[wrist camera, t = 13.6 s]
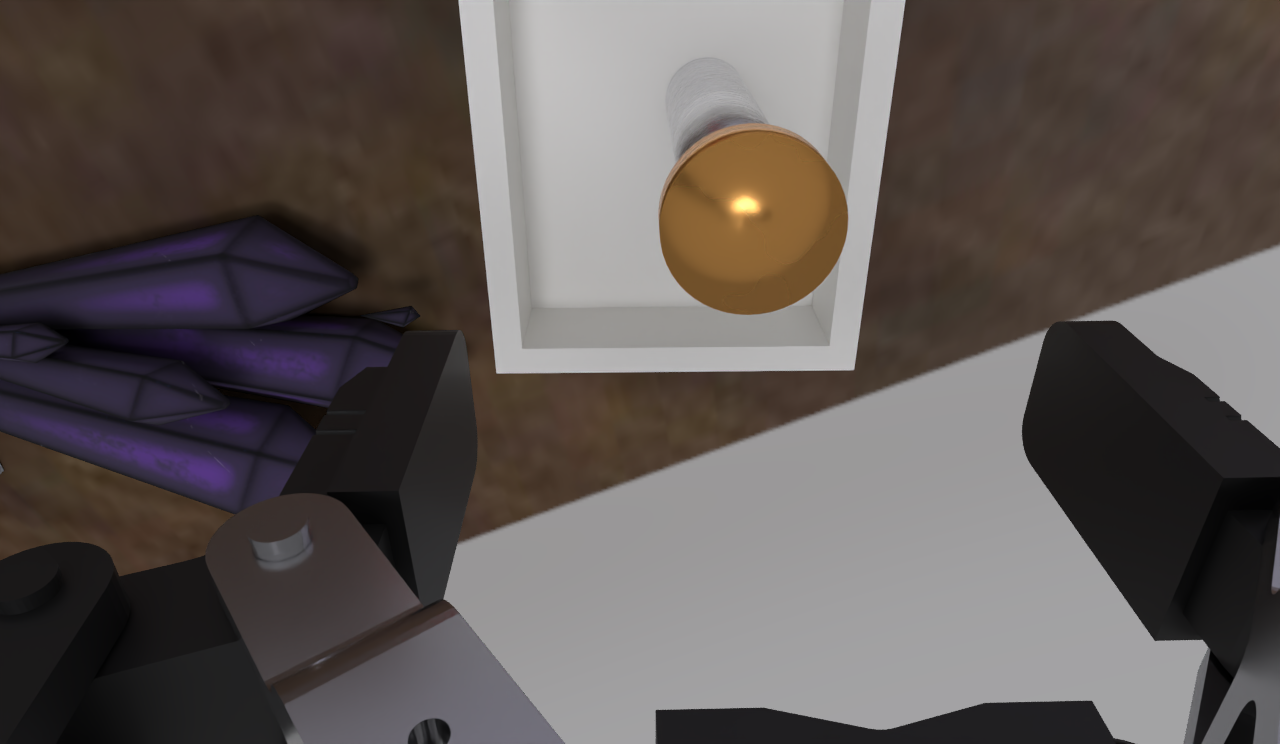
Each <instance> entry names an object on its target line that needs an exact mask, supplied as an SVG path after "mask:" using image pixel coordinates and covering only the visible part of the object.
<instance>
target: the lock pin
mask: <svg viewBox="0 0 1280 744" xmlns="http://www.w3.org/2000/svg"><path fill="white" fill-rule="evenodd" d="M665 103H666V111H667V116H668V122H669V128H670V134H671V140H672V146H673V152H674V158H675V165H674V167H673V168H672V169H671V171H670V173H669V175H668V177H667V179H666V181H665V184H664V186H663V189H662V192H661V197H660V201H659V210H658V220H659V234H660V243H661V248H662V253H663V256H664V259H665V262H666V265H667V266H668V268H669V270H670V272H671V274H672V276H673V277H674V278H675V280H676V281H677V283H678V284H679V285H680V286H681V287H682V288H683V289H684V290H685V291H686V292H687V293H688V294H689V295H691V296H692V297H693V298H694V299H696V300H698V301H699V302H701V303H702V304H704V305H706V306H709V307H711V308H713V309H716V310H719V311H722V312H726V313H732V314H740V315H754V314H763V313H769V312H773V311H776V310H779V309H783V308H785V307H787V306H790V305H792V304H794V303H796V302H797V301H799V300H801V299H803V298H804V297H806V296H807V295H808V294H810V293H811V292H812V291H814V290H815V289H816V288H817V287H818V286H819V285H820V284H821V283H822V282H823V281H824V280H825V278H826V277H827V276H828V275H829V274H830V272H831V271H832V269H833V268H834V266H835V264H836V263H837V261H838V259H839V257H840V255H841V253H842V250H843V247H844V244H845V241H846V236H847V230H848V207H847V202H846V197H845V193H844V191H843V188H842V186H841V183H840V181H839V180H838V178H837V176H836V174H835V173H834V171H833V170H832V169H831V167H830V166H829V164H828V163H827V162H826V160H825V159H824V158H823V156H822V155H821V154H820V153H819V151H818V150H817V149H816V148H815V147H814V146H813V145H812V144H811V143H810V142H808V141H807V140H805V139H804V138H803V137H801V136H800V135H798V134H796V133H794V132H792V131H790V130H787V129H785V128H782V127H779V126H774V125H770V124H769V122H768V121H767V119H766V117H765V116H764V114H763V112H762V111H761V109H760V108H759V106H758V104H757V103H756V101H755V99H754V98H753V96H752V94H751V93H750V91H749V89H748V88H747V86H746V84H745V83H744V81H743V80H742V78H741V76H740V75H739V73H738V72H737V71H736V69H734V68H733V67H732V66H731V65H730V64H728V63H727V62H725V61H723V60H720V59H717V58H712V57H704V58H698V59H694V60H692V61H690V62H688V63H686V64H684V65H683V66H682V67H681V68H679V69H678V70H677V72H676V73H675V74H674V75H673V77H672V78H671V80H670V82H669V84H668V87H667V91H666V98H665Z"/></svg>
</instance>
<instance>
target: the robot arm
mask: <svg viewBox="0 0 1280 744" xmlns="http://www.w3.org/2000/svg"><path fill="white" fill-rule="evenodd" d="M1219 398H1220V397H1219V396H1218V395H1217V394H1216V393H1215V392H1213V391H1212V390H1211V389H1210V388H1209V387H1208V386H1206V385H1205V384H1204V383H1203V382H1202V381H1201V380H1199V379H1198V378H1197V377H1196V376H1195V375H1194V374H1192V373H1190V372H1188V371H1186V370H1184V369H1182V368H1180V367H1178V366H1176V365H1174V364H1172V363H1170V362H1168V361H1166V360H1164V359H1162V358H1160V357H1158V356H1157V355H1155V354H1154V353H1153V352H1152V351H1151V350H1150V349H1149V348H1148V347H1147V346H1145V345H1144V344H1143V343H1142V342H1141V341H1140V340H1138V339H1137V338H1136V337H1135V336H1134V335H1133V334H1132V333H1131V332H1129V331H1128V330H1127V329H1126V328H1125V327H1124V326H1123V325H1121V324H1120V323H1118V322H1116V321H1067V322H1056V323H1055V324H1053V325H1052V326H1051V327H1050V328H1049V330H1048V331H1047V333H1046V336H1045V339H1044V341H1043V345H1042V349H1041V353H1040V357H1039V360H1038V364H1037V369H1036V372H1035V376H1034V380H1033V384H1032V387H1031V391H1030V395H1029V399H1028V402H1027V407H1026V410H1025V414H1024V418H1023V425H1022V439H1023V446H1024V450H1025V453H1026V456H1027V458H1028V461H1029V462H1030V464H1031V466H1032V467H1033V468H1034V470H1035V471H1036V473H1037V474H1038V475H1039V477H1040V478H1041V480H1042V481H1043V483H1044V484H1045V485H1046V487H1047V488H1048V489H1049V491H1050V492H1051V494H1052V495H1053V497H1054V498H1055V500H1056V501H1057V502H1058V504H1059V505H1060V507H1061V508H1062V509H1063V511H1064V512H1065V514H1066V515H1067V517H1068V518H1069V520H1070V521H1071V522H1072V524H1073V525H1074V527H1075V528H1076V529H1077V531H1078V532H1079V534H1080V535H1081V537H1082V538H1083V539H1084V541H1085V542H1086V544H1087V545H1088V547H1089V548H1090V549H1091V551H1092V552H1093V553H1094V555H1095V556H1096V558H1097V559H1098V561H1099V562H1100V563H1101V565H1102V566H1103V568H1104V569H1105V570H1106V572H1107V574H1108V575H1109V576H1110V578H1111V579H1112V581H1113V582H1114V583H1115V585H1116V586H1117V588H1118V589H1119V591H1120V592H1121V593H1122V595H1123V596H1124V598H1125V599H1126V600H1127V602H1128V603H1129V605H1130V606H1131V607H1132V609H1133V610H1134V612H1135V613H1136V614H1137V616H1138V617H1139V619H1140V620H1141V622H1142V623H1143V624H1144V626H1145V627H1146V629H1147V630H1148V632H1149V633H1150V635H1151V636H1152V637H1153V639H1154V640H1155V641H1159V640H1203V641H1204V642H1205V643H1206V644H1207V646H1208V647H1209V648H1208V650H1207V652H1206V654H1205V656H1204V658H1203V660H1202V663H1201V665H1200V667H1199V670H1198V674H1197V678H1196V684H1195V688H1194V694H1193V699H1192V704H1191V709H1190V714H1189V719H1188V724H1187V729H1186V734H1185V739H1184V744H1280V448H1279V447H1278V446H1276V445H1275V444H1274V443H1273V442H1272V441H1271V440H1269V439H1268V438H1267V437H1266V436H1265V435H1264V434H1262V433H1261V432H1260V431H1259V430H1258V429H1256V428H1255V427H1254V426H1253V425H1252V424H1251V423H1250V422H1248V421H1247V420H1241V415H1240V414H1239V413H1238V412H1237V411H1236V410H1234V409H1233V408H1232V407H1231V406H1230V405H1229V404H1227V403H1226V402H1225V401H1220V400H1219ZM476 462H477V426H476V418H475V410H474V402H473V395H472V387H471V379H470V371H469V363H468V355H467V348H466V342H465V338H464V335H463V333H462V331H461V330H435V331H406V332H405V333H404V334H403V336H402V338H401V340H400V342H399V344H398V346H397V348H396V350H395V352H394V354H393V356H392V358H391V360H390V362H389V364H388V367H366V368H365V369H363V370H362V371H361V372H359V373H358V374H357V375H356V376H354V377H353V378H352V379H350V380H349V381H348V382H346V383H345V384H344V385H342V386H341V387H340V388H339V390H338V392H337V393H336V395H335V397H334V399H333V400H332V402H331V404H330V406H329V408H328V409H327V415H324V416H323V418H322V420H321V422H320V424H319V425H318V427H317V429H316V435H313V436H312V438H311V440H310V441H309V443H308V445H307V447H306V449H305V450H304V452H303V454H302V456H301V457H300V459H299V461H298V463H297V465H296V466H295V468H294V470H293V472H292V474H291V475H290V477H289V479H288V481H287V482H286V484H285V486H284V488H283V490H282V491H281V493H280V495H279V496H278V497H274V498H270V499H267V500H264V501H261V502H259V503H256V504H254V505H252V506H250V507H248V508H246V509H244V510H242V511H240V512H239V513H237V514H236V515H234V516H233V517H231V518H230V519H228V520H227V521H226V522H225V523H224V524H223V525H222V526H221V527H219V529H218V530H217V531H216V532H215V533H214V535H213V536H212V538H211V540H210V541H209V543H208V546H207V549H206V555H204V556H202V557H199V558H195V559H191V560H188V561H184V562H180V563H175V564H171V565H167V566H163V567H158V568H154V569H150V570H145V571H141V572H137V573H132V574H128V575H124V576H120V577H119V575H118V572H117V570H116V568H115V565H114V563H113V561H112V558H111V556H110V555H109V554H108V553H107V552H106V551H105V550H104V549H102V548H100V547H99V546H96V545H93V544H89V543H82V542H62V543H53V544H48V545H44V546H39V547H35V548H32V549H29V550H25V551H22V552H20V553H17V554H14V555H12V556H9V557H7V558H5V559H3V560H1V561H0V744H565V743H564V742H563V740H562V739H561V738H560V737H559V736H558V734H557V733H556V732H555V731H554V729H553V728H552V727H551V726H550V724H549V723H548V722H547V721H546V719H545V718H544V717H543V716H542V714H541V713H540V712H539V711H538V710H537V708H536V707H535V706H534V705H533V703H532V702H531V701H530V700H529V698H528V697H527V696H526V695H525V693H524V692H523V691H522V690H521V689H520V687H519V686H518V685H517V684H516V682H515V681H514V680H513V679H512V677H511V676H510V675H509V674H508V673H507V671H506V670H505V669H504V668H503V666H502V665H501V664H500V663H499V661H498V660H497V659H496V658H495V656H494V655H493V654H492V653H491V652H490V650H489V649H488V648H487V647H486V645H485V644H484V643H483V642H482V640H481V639H480V638H479V637H478V636H477V634H476V633H475V632H474V631H473V630H472V628H471V627H470V626H469V624H468V623H467V622H466V621H465V620H464V618H463V617H462V616H461V615H460V613H459V612H458V611H457V610H456V609H455V608H454V607H453V606H452V605H451V604H450V603H449V602H447V601H446V600H443V598H444V594H445V590H446V586H447V582H448V578H449V574H450V570H451V566H452V562H453V558H454V554H455V550H456V546H457V542H458V538H459V534H460V530H461V526H462V522H463V518H464V514H465V510H466V506H467V502H468V498H469V494H470V490H471V486H472V482H473V478H474V474H475V469H476ZM656 744H1135V743H1131V742H1128V741H1125V740H1120V739H1115V738H1113V737H1112V735H1111V733H1110V732H1109V730H1108V728H1107V726H1106V724H1105V723H1104V721H1103V719H1102V718H1101V716H1100V714H1099V712H1098V711H1097V709H1096V707H1095V706H1094V704H1093V702H1092V701H1060V702H1059V701H1057V702H1009V703H983V704H980V705H977V706H973V707H969V708H965V709H962V710H958V711H955V712H951V713H947V714H944V715H940V716H936V717H933V718H929V719H925V720H922V721H918V722H915V723H911V724H908V725H904V726H900V727H897V728H893V729H887V730H875V729H868V728H863V727H858V726H853V725H848V724H843V723H838V722H833V721H828V720H823V719H818V718H812V717H807V716H802V715H797V714H792V713H787V712H782V711H777V710H772V709H767V708H733V709H732V708H730V709H686V710H685V709H684V710H656Z"/></svg>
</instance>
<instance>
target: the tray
mask: <svg viewBox="0 0 1280 744" xmlns="http://www.w3.org/2000/svg"><path fill="white" fill-rule="evenodd" d="M904 7H905V0H459V10H460V20H461V30H462V40H463V49H464V59H465V69H466V79H467V89H468V98H469V108H470V118H471V128H472V138H473V147H474V157H475V167H476V177H477V187H478V196H479V206H480V216H481V226H482V236H483V245H484V255H485V265H486V275H487V285H488V294H489V304H490V314H491V324H492V334H493V344H494V353H495V363H496V373H599V372H708V371H818V370H854V367H855V360H856V352H857V345H858V338H859V331H860V324H861V316H862V309H863V302H864V295H865V288H866V280H867V273H868V266H869V259H870V252H871V244H872V237H873V230H874V223H875V216H876V208H877V201H878V194H879V187H880V180H881V173H882V165H883V158H884V151H885V144H886V137H887V129H888V122H889V115H890V108H891V101H892V93H893V86H894V79H895V72H896V65H897V57H898V50H899V43H900V36H901V29H902V21H903V14H904ZM704 57H712V58H717V59H720V60H723V61H725V62H727V63H728V64H730V65H731V66H732V67H733V68H734V69H736V71H737V72H738V73H739V75H740V76H741V78H742V80H743V81H744V83H745V84H746V86H747V88H748V89H749V91H750V93H751V94H752V96H753V98H754V99H755V101H756V103H757V104H758V106H759V108H760V109H761V111H762V112H763V114H764V116H765V117H766V119H767V121H768V122H769V124H770V125H774V126H779V127H782V128H785V129H787V130H790V131H792V132H794V133H796V134H798V135H800V136H801V137H803V138H804V139H805V140H807V141H808V142H810V143H811V144H812V145H813V146H814V147H815V148H816V149H817V150H818V151H819V153H820V154H821V155H822V156H823V158H824V159H825V160H826V162H827V163H828V164H829V166H830V167H831V169H832V170H833V171H834V173H835V174H836V176H837V178H838V180H839V181H840V183H841V186H842V188H843V191H844V193H845V197H846V202H847V207H848V230H847V236H846V241H845V244H844V247H843V250H842V253H841V255H840V257H839V259H838V261H837V263H836V264H835V266H834V268H833V269H832V271H831V272H830V274H829V275H828V276H827V277H826V278H825V280H824V281H823V282H822V283H821V284H820V285H819V286H818V287H817V288H816V289H815V290H814V291H812V292H811V293H810V294H808V295H807V296H806V297H804V298H803V299H801V300H799V301H797V302H796V303H794V304H792V305H790V306H787V307H785V308H783V309H779V310H776V311H773V312H769V313H763V314H754V315H740V314H732V313H726V312H722V311H719V310H716V309H713V308H711V307H709V306H706V305H704V304H702V303H701V302H699V301H698V300H696V299H694V298H693V297H692V296H691V295H689V294H688V293H687V292H686V291H685V290H684V289H683V288H682V287H681V286H680V285H679V284H678V283H677V281H676V280H675V278H674V277H673V276H672V274H671V272H670V270H669V268H668V266H667V265H666V262H665V259H664V256H663V253H662V248H661V243H660V234H659V220H658V210H659V201H660V197H661V192H662V189H663V186H664V184H665V181H666V179H667V177H668V175H669V173H670V171H671V169H672V168H673V167H674V165H675V158H674V152H673V146H672V140H671V134H670V128H669V122H668V116H667V111H666V103H665V98H666V91H667V87H668V84H669V82H670V80H671V78H672V77H673V75H674V74H675V73H676V72H677V70H678V69H679V68H681V67H682V66H683V65H684V64H686V63H688V62H690V61H692V60H694V59H698V58H704Z"/></svg>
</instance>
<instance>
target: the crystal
mask: <svg viewBox="0 0 1280 744" xmlns="http://www.w3.org/2000/svg"><path fill="white" fill-rule="evenodd" d="M357 284H358V278H357V277H356V276H355V275H354V274H353V273H351V272H350V271H348V270H346V269H345V268H343V267H342V266H340V265H338V264H337V263H335V262H333V261H332V260H330V259H329V258H327V257H325V256H324V255H322V254H320V253H319V252H317V251H316V250H314V249H312V248H311V247H309V246H307V245H306V244H304V243H303V242H301V241H299V240H298V239H296V238H294V237H293V236H291V235H290V234H288V233H286V232H285V231H283V230H281V229H280V228H278V227H277V226H275V225H273V224H272V223H270V222H268V221H267V220H265V219H264V218H262V217H260V216H259V215H256V216H252V217H248V218H243V219H239V220H235V221H230V222H226V223H221V224H217V225H213V226H208V227H204V228H200V229H195V230H191V231H187V232H182V233H178V234H174V235H169V236H165V237H161V238H156V239H152V240H148V241H143V242H139V243H135V244H130V245H126V246H121V247H117V248H113V249H108V250H104V251H100V252H95V253H91V254H87V255H82V256H78V257H74V258H69V259H65V260H61V261H56V262H52V263H48V264H43V265H39V266H35V267H30V268H26V269H21V270H17V271H13V272H8V273H4V274H0V431H1V432H3V433H6V434H9V435H12V436H15V437H18V438H20V439H23V440H26V441H29V442H32V443H35V444H37V445H40V446H43V447H46V448H49V449H51V450H54V451H57V452H60V453H63V454H66V455H68V456H71V457H74V458H77V459H80V460H83V461H85V462H88V463H91V464H94V465H97V466H100V467H102V468H105V469H108V470H111V471H114V472H117V473H119V474H122V475H125V476H128V477H131V478H134V479H136V480H139V481H142V482H145V483H148V484H151V485H153V486H156V487H159V488H162V489H165V490H168V491H170V492H173V493H176V494H179V495H182V496H185V497H187V498H190V499H193V500H196V501H199V502H202V503H204V504H207V505H210V506H213V507H216V508H219V509H221V510H224V511H227V512H230V513H233V514H237V513H239V512H240V511H242V510H244V509H246V508H248V507H250V506H252V505H254V504H256V503H259V502H261V501H264V500H267V499H270V498H274V497H278V496H279V495H280V493H281V491H282V490H283V488H284V486H285V484H286V482H287V481H288V479H289V477H290V475H291V474H292V472H293V470H294V468H295V466H296V465H297V463H298V461H299V459H300V457H301V456H302V454H303V452H304V450H305V449H306V447H307V445H308V443H309V441H310V440H311V438H312V436H313V435H316V430H315V429H314V428H313V427H312V426H311V425H310V424H309V423H308V422H306V421H305V420H304V419H303V418H302V417H301V416H300V415H299V414H297V413H296V412H295V411H294V410H293V409H292V408H291V407H290V406H288V405H282V404H276V403H269V402H263V401H257V400H251V399H245V398H239V397H232V396H226V395H223V394H222V393H221V392H219V391H218V390H217V389H216V388H221V389H226V390H232V391H237V392H243V393H248V394H254V395H259V396H265V397H270V398H276V399H281V400H287V401H293V402H298V403H304V404H309V405H315V406H320V407H326V408H329V406H330V404H331V402H332V400H333V399H334V397H335V395H336V393H337V392H338V390H339V388H340V387H341V386H342V385H344V384H345V383H346V382H348V381H349V380H350V379H352V378H353V377H354V376H356V375H357V374H358V373H359V372H361V371H362V370H363V369H365V368H366V367H388V364H389V362H390V360H391V358H392V356H393V354H394V352H395V350H396V348H397V346H398V344H399V342H400V340H401V338H402V336H403V334H402V333H400V332H398V331H397V330H395V329H393V328H391V327H389V326H387V325H385V324H384V323H382V322H385V323H389V324H393V325H396V326H400V327H404V326H406V325H407V324H409V323H410V322H412V321H414V320H415V319H417V318H418V317H420V315H419V314H418V313H417V311H416V310H415V309H414V308H413V307H412V306H409V307H403V308H398V309H392V310H387V311H382V312H376V313H371V314H365V315H360V316H364V317H367V318H349V317H329V316H308V315H303V314H305V313H307V312H310V311H312V310H314V309H316V308H318V307H320V306H322V305H324V304H326V303H328V302H330V301H332V300H334V299H336V298H338V297H340V296H342V295H344V294H346V293H348V292H350V291H352V290H354V289H356V288H357ZM370 318H371V319H370ZM380 321H382V322H380ZM214 387H215V388H214Z"/></svg>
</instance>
